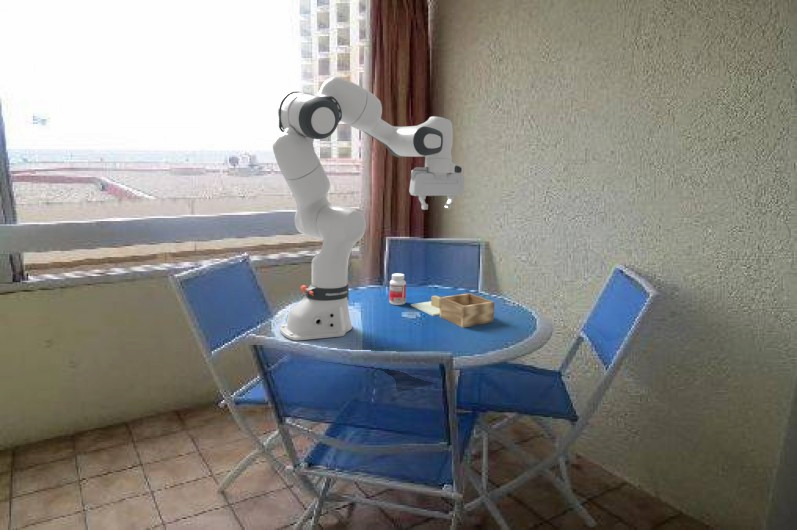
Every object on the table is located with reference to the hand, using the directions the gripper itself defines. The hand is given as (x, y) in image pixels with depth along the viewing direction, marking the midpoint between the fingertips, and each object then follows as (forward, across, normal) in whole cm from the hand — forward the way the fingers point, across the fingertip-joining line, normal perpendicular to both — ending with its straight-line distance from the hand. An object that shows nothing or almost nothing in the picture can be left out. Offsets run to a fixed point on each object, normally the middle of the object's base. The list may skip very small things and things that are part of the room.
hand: (436, 209), depth 173 cm
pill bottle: (+37, -4, +17) cm, 41 cm away
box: (+37, +7, -11) cm, 39 cm away
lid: (+38, +6, +5) cm, 38 cm away
